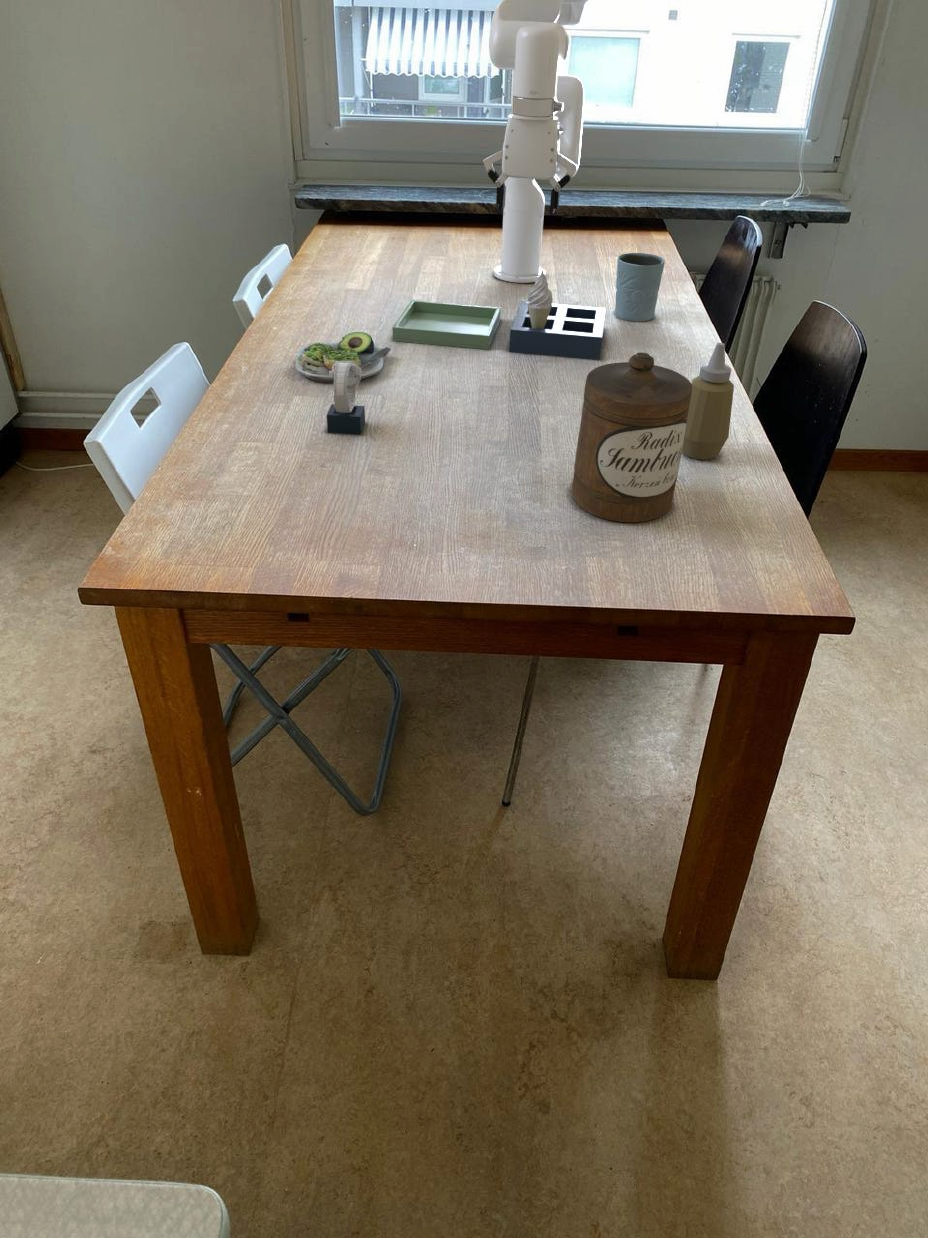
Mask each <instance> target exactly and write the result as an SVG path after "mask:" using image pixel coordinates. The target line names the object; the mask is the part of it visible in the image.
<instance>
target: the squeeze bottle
mask: <svg viewBox="0 0 928 1238" xmlns="http://www.w3.org/2000/svg"><path fill="white" fill-rule="evenodd" d="M725 345H726V344H725V343H724V342H717V343H716V345H715V347H714V349H713V352H712V354H711V356H710V358H709V360H708V362H707V361H706V362H703V363H702V364H701V365H700V369H699V375H697V376H696V377H694V378H693V379H692V380H691V381H690V382H691V384H692V396H691V401H690V406H689V410H688V418H687V424H686V430H685V435H684V441H683V448H682V454H683V455H685V456H687V457H688V458H692V459H695V460H702V461H703V460H712V459H715V458H716V457H717V456H718V454H719V453H720V452H721V450H722V449H723V447H724V445H725V444H726V442H727V441H728V439H729V436H730V428H731V427H730V426H731V418H732V410H733V409H732V408H733V398H734V389H735V384H734V383H733V382H732V381H731V380H730V378H731V374H732V368H731V367H730V366H729V365H728V364H726V346H725Z"/></svg>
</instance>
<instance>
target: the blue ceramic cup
mask: <svg viewBox="0 0 928 1238" xmlns="http://www.w3.org/2000/svg"><path fill="white" fill-rule="evenodd" d="M665 263H666V261H665V259H664V258H663V257H662V256H659V255H656V254H651V253H644V252H628V253H622V254H619V255H618V256H617V259H616V279H615V289H616V290H615V306H614V315H615V316H616V317H617V318H618V319H620V320H624V321H629V322H637V323H638V322H639V323H640V322H648V321H651V320H652V319H654V316H655V312H656V308H657V307H656V305H657V301H658V298H659V291H660V286H661V282H662V278H663V273H664V268H665Z"/></svg>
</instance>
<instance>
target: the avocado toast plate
mask: <svg viewBox="0 0 928 1238" xmlns="http://www.w3.org/2000/svg"><path fill="white" fill-rule="evenodd" d="M341 339H342V340H340V341H339V342H324V341H323V342H313V343H309V344H305V345H304V346H301V347H300V348H299V349H298V351H297V353H296V359H295V362H294V363H295V364H294V365H295V371H296V372H298V373H299V374H301V375H302V376H304V377H305V378H307V379H310V380H312V381H314V382H318V383H326V384H327V383H328V384H329V383H330V384H331V383H333V384H334V379H333V377H332V376H330V375H329V371H332V367H333V365H334V364H335V363H337V362H340V361H349V362H352V363H355V364H356V365H358V366H359V367H360V368H361V370H362V376H361V380H363V379H366V378H369V377H372V376H375V375H377V374H379V373H380V372H381V371H382V369H383V368H384V367H383V366H384V358H385V357H386V356H387V355H388V354H389V353H390V352H391V351H392V348H390V347H389V346H385V347H384V348H383V347H380V346H378V345H376V344H375V343H374V340H373V337H372V336H371V335H370V334H369V333H367V332H364V331H354V332H350V333H347V334H345V336H342V337H341Z"/></svg>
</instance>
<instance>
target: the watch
mask: <svg viewBox="0 0 928 1238" xmlns="http://www.w3.org/2000/svg"><path fill="white" fill-rule="evenodd" d="M329 375H330V376H332V377H333V379H334V383H333V398H332V399H333V403H331V404H330V406H329V409H328V410H327V413H326V429H327V433H330V434H344V435H345V434H346V435H362V433H363V430H364V428H365V426H366V410H365V405H356V404H355V401H356V393H357V392H356V391H357V389H359V386H360V383H361V380H362V379H361V376H362V370H361V368H360V367H359V366H358V365H356V364H355V363H352V362H349V361H340V362H337V363H335V364H334V365H333V367H332V371H329Z"/></svg>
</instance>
